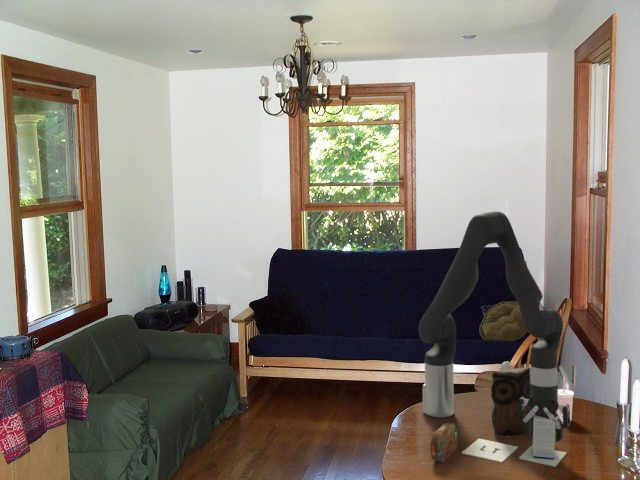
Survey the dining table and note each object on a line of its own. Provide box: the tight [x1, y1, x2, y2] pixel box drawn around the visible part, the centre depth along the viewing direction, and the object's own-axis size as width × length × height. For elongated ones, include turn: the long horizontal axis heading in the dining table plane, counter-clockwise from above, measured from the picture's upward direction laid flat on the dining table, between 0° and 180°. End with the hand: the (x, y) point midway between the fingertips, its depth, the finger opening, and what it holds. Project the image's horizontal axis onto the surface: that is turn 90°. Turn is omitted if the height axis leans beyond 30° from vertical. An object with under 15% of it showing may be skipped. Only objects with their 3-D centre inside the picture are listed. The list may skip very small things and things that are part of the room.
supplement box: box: [532, 414, 556, 460], centre depth 205 cm, size 6×6×12 cm
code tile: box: [461, 438, 519, 463], centre depth 210 cm, size 12×12×1 cm
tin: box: [430, 422, 459, 463], centre depth 207 cm, size 15×3×8 cm, turn 148°
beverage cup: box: [556, 376, 575, 422], centre depth 232 cm, size 6×6×14 cm
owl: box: [490, 366, 534, 438], centre depth 223 cm, size 13×13×20 cm
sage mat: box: [518, 444, 568, 468], centre depth 205 cm, size 10×10×1 cm
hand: (543, 437), depth 205 cm, fingers open, 8 cm apart
